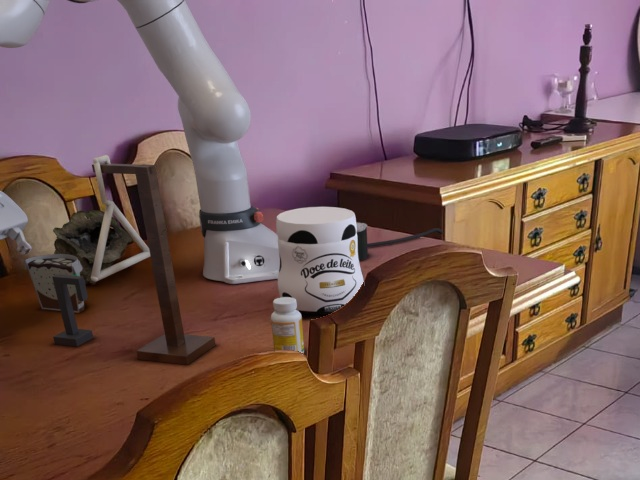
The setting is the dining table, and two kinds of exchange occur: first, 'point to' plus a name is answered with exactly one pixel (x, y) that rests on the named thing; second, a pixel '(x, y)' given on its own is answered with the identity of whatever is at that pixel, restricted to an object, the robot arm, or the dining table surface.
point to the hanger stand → (174, 341)
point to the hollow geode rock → (90, 241)
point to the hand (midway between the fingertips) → (10, 258)
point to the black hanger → (70, 310)
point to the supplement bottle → (287, 325)
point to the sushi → (362, 241)
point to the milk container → (318, 258)
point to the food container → (43, 281)
